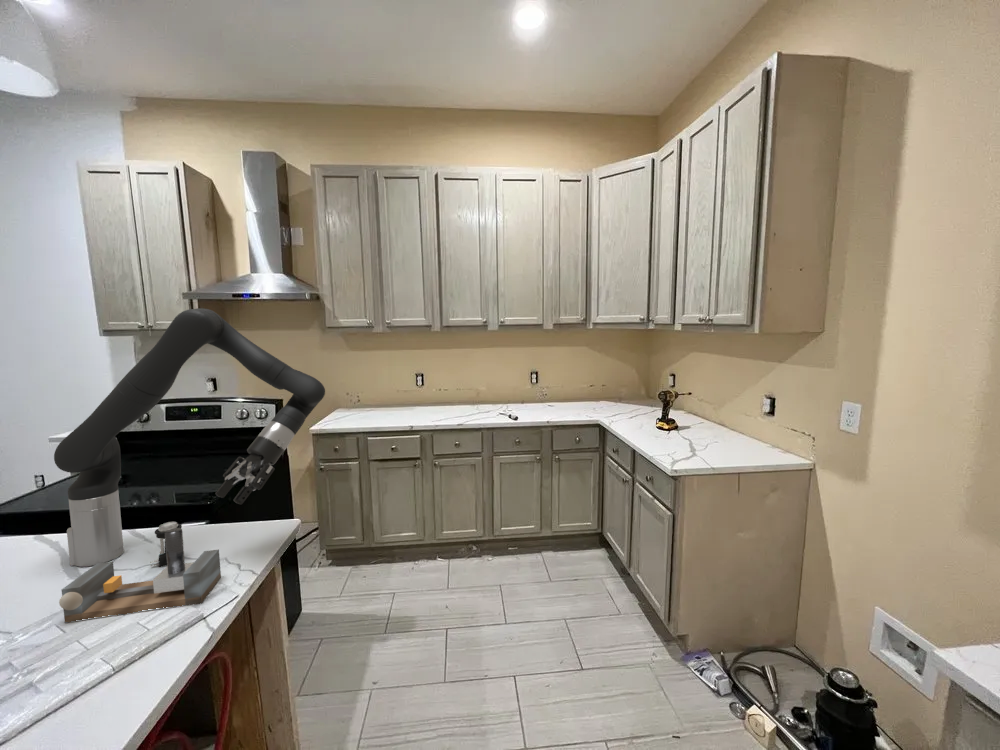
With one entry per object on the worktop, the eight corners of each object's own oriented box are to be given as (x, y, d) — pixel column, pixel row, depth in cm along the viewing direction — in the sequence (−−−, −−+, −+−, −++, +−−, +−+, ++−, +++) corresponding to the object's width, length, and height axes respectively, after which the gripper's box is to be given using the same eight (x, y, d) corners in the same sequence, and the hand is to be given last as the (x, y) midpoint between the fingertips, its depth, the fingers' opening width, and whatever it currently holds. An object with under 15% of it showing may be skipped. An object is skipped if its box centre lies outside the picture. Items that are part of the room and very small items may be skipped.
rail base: (61, 624, 83) (58, 590, 82) (98, 593, 93) (95, 563, 92) (200, 604, 88) (198, 573, 88) (221, 577, 98) (218, 549, 98)
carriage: (154, 593, 88) (149, 539, 87) (169, 578, 94) (165, 526, 93) (186, 589, 90) (182, 535, 89) (199, 574, 95) (195, 523, 94)
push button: (150, 572, 101) (146, 533, 100) (151, 563, 105) (147, 525, 104) (184, 563, 105) (181, 525, 104) (184, 555, 109) (181, 518, 109)
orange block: (104, 593, 87) (103, 584, 87) (113, 585, 90) (112, 576, 90) (113, 592, 88) (112, 582, 87) (122, 584, 91) (121, 575, 90)
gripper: (246, 432, 110) (200, 487, 101) (276, 437, 103) (230, 497, 94) (267, 447, 115) (225, 501, 106) (298, 453, 108) (255, 512, 99)
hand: (227, 499), depth 100 cm, fingers open, 8 cm apart
